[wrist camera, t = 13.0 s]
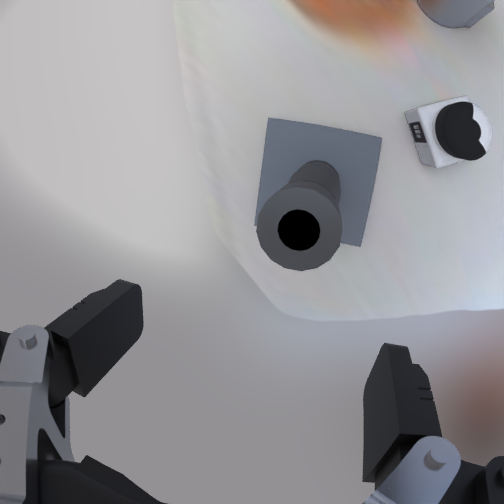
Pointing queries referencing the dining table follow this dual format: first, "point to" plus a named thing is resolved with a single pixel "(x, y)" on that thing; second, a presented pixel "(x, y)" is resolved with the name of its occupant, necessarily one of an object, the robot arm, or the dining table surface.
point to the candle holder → (303, 218)
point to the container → (449, 132)
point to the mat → (331, 151)
